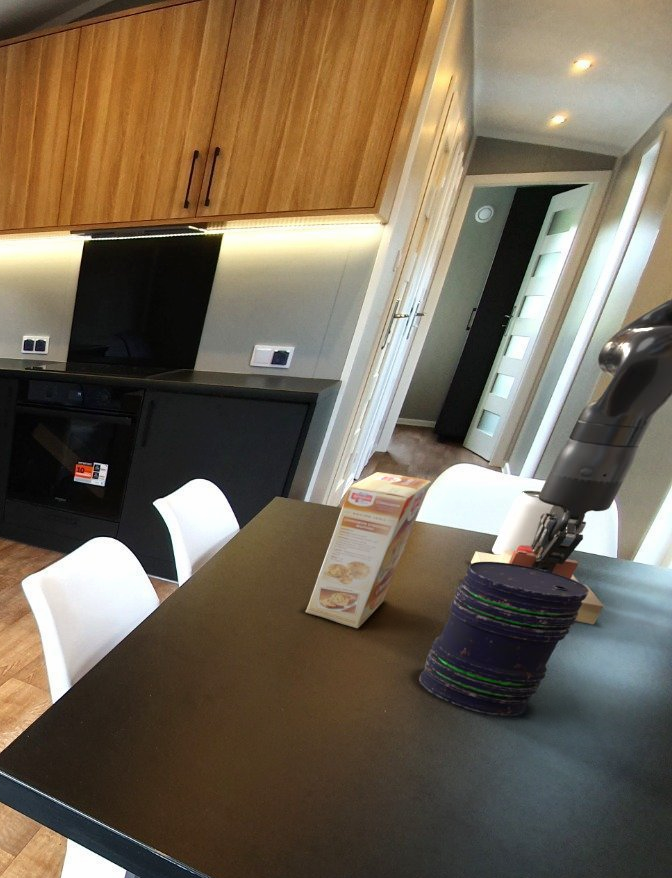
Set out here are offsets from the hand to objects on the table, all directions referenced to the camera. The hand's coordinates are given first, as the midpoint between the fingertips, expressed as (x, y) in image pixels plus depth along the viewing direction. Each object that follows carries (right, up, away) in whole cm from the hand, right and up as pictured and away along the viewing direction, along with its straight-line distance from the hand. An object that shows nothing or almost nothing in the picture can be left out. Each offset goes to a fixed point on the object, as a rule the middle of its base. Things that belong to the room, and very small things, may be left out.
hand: (533, 582), depth 99 cm
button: (+9, +4, +9) cm, 13 cm away
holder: (0, 0, 0) cm, 0 cm away
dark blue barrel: (-32, -14, -24) cm, 42 cm away
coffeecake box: (-31, -4, -2) cm, 31 cm away
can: (+17, +5, +20) cm, 27 cm away
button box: (+8, +1, +10) cm, 13 cm away
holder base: (0, -3, +1) cm, 3 cm away
